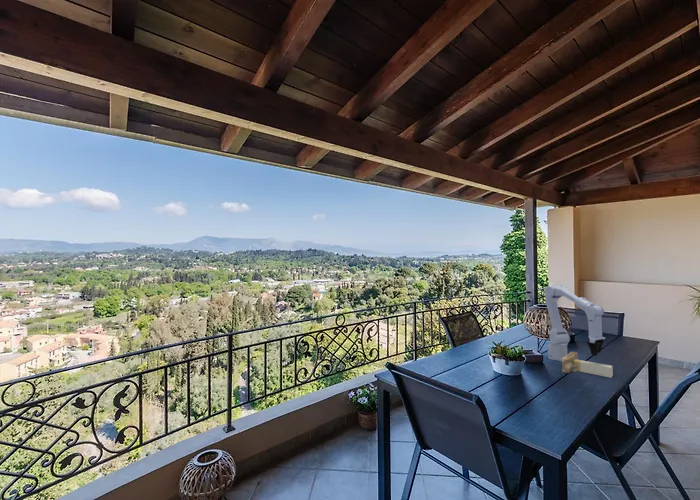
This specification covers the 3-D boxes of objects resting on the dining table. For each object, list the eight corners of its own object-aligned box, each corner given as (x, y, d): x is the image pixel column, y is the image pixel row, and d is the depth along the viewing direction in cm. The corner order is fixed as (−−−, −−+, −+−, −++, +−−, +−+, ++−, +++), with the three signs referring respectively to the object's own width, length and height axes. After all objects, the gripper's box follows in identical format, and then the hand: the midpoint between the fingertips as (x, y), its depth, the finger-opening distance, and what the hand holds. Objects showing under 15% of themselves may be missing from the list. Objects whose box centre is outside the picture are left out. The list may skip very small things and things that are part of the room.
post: (562, 371, 173) (561, 358, 173) (571, 363, 185) (571, 351, 185) (573, 374, 169) (572, 360, 169) (582, 365, 181) (581, 353, 181)
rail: (573, 370, 175) (573, 360, 175) (575, 368, 178) (575, 359, 178) (611, 377, 163) (610, 367, 163) (612, 375, 166) (612, 365, 166)
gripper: (601, 331, 165) (602, 358, 165) (607, 327, 174) (608, 352, 174) (584, 329, 170) (585, 355, 170) (591, 325, 180) (592, 349, 179)
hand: (596, 353), depth 172 cm, fingers open, 7 cm apart
